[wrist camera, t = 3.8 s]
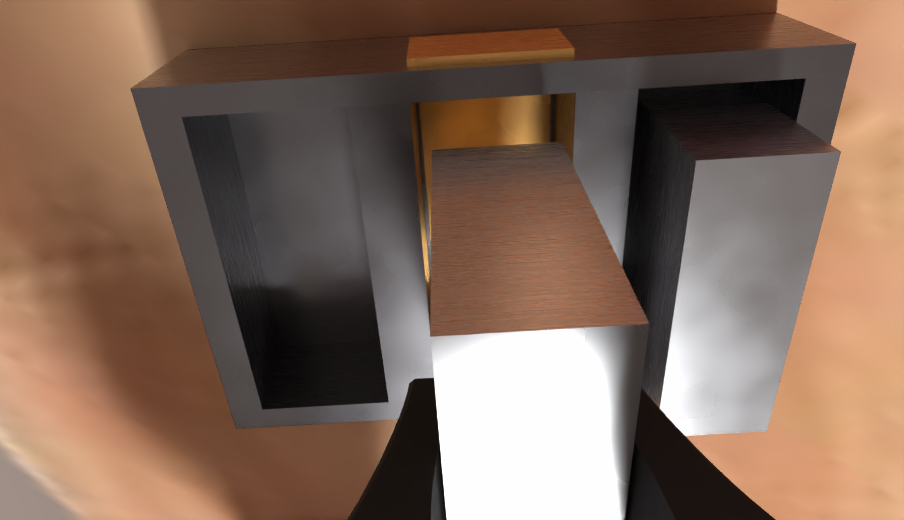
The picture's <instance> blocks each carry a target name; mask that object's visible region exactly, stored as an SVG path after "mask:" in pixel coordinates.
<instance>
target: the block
mask: <svg viewBox="0 0 904 520" xmlns="http://www.w3.org/2000/svg"><path fill="white" fill-rule="evenodd" d="M648 330H649V322H648V320H647V318H646V316H645V314H644V312H643V310H642V308H641V305H640V303H639V301H638V299H637V297H636V295H635V293H634V291H633V289H632V287H631V285H630V283H629V280H628V278H627V276H626V274H625V272H624V270H623V268H622V266H621V264H620V262H619V260H618V258H617V255H616V253H615V251H614V249H613V247H612V245H611V243H610V241H609V239H608V237H607V235H606V233H605V230H604V228H603V226H602V224H601V222H600V220H599V218H598V216H597V214H596V212H595V210H594V208H593V206H592V203H591V201H590V199H589V197H588V195H587V193H586V191H585V189H584V187H583V185H582V183H581V181H580V178H579V176H578V174H577V172H576V170H575V168H574V166H573V164H572V162H571V160H570V158H569V156H568V153H567V151H566V149H565V147H564V145H563V143H562V142H550V143H534V144H518V145H501V146H485V147H469V148H452V149H436V150H432V171H431V308H430V339H431V350H432V361H433V372H434V383H435V394H436V405H437V416H438V427H439V438H440V449H441V460H442V471H443V482H444V493H445V504H446V515H447V520H625V512H626V504H627V496H628V488H629V480H630V472H631V465H632V457H633V449H634V441H635V433H636V425H637V417H638V409H639V401H640V394H641V386H642V378H643V370H644V362H645V354H646V346H647V338H648Z"/></svg>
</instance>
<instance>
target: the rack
mask: <svg viewBox="0 0 904 520" xmlns="http://www.w3.org/2000/svg"><path fill="white" fill-rule="evenodd" d="M855 46H856V43H854V42H851V41H849V40H846V39H844V38H841V37H838V36H836V35H833V34H831V33H828V32H825V31H823V30H820V29H818V28H815V27H812V26H810V25H807V24H805V23H802V22H800V21H797V20H794V19H792V18H789V17H787V16H784V15H781V14H779V13H769V14H753V15H737V16H721V17H705V18H689V19H673V20H657V21H641V22H625V23H609V24H593V25H577V26H561V27H546V28H530V29H514V30H498V31H482V32H466V33H450V34H434V35H418V36H402V37H386V38H370V39H354V40H338V41H322V42H306V43H290V44H274V45H258V46H242V47H226V48H210V49H194V50H186V51H185V52H183V53H182V54H180V55H179V56H177V57H176V58H174V59H173V60H172V61H170V62H169V63H167V64H166V65H164V66H163V67H161V68H160V69H158V70H157V71H155V72H154V73H153V74H151V75H150V76H148V77H147V78H145V79H144V80H142V81H141V82H139V83H138V84H137V85H135V86H134V87H132V88H131V92H132V95H133V98H134V101H135V104H136V108H137V111H138V114H139V117H140V121H141V124H142V127H143V130H144V133H145V137H146V140H147V143H148V146H149V150H150V153H151V156H152V159H153V162H154V166H155V169H156V172H157V175H158V179H159V182H160V185H161V188H162V191H163V195H164V198H165V201H166V204H167V208H168V211H169V214H170V217H171V220H172V224H173V227H174V230H175V233H176V237H177V240H178V243H179V246H180V249H181V253H182V256H183V259H184V262H185V266H186V269H187V272H188V275H189V278H190V282H191V285H192V288H193V291H194V295H195V298H196V301H197V304H198V307H199V311H200V314H201V317H202V320H203V324H204V327H205V330H206V333H207V336H208V340H209V343H210V346H211V349H212V352H213V356H214V359H215V362H216V365H217V369H218V372H219V375H220V378H221V381H222V385H223V388H224V391H225V394H226V398H227V401H228V404H229V407H230V410H231V414H232V417H233V420H234V423H235V427H236V429H241V428H258V427H275V426H292V425H310V424H327V423H344V422H361V421H378V420H395V419H399V416H400V413H401V411H402V408H403V405H404V402H405V398H406V395H407V391H408V387H409V383H410V382H411V381H413V380H414V379H419V378H434V372H433V361H432V350H431V339H430V308H431V171H432V150H436V149H452V148H469V147H485V146H501V145H518V144H534V143H550V142H562V143H563V145H564V147H565V149H566V151H567V153H568V156H569V158H570V160H571V162H572V164H573V166H574V168H575V170H576V172H577V174H578V176H579V178H580V181H581V183H582V185H583V187H584V189H585V191H586V193H587V195H588V197H589V199H590V201H591V203H592V206H593V208H594V210H595V212H596V214H597V216H598V218H599V220H600V222H601V224H602V226H603V228H604V230H605V233H606V235H607V237H608V239H609V241H610V243H611V245H612V247H613V249H614V251H615V253H616V255H617V258H618V260H619V262H620V264H621V266H622V268H623V270H624V272H625V274H626V276H627V278H628V280H629V283H630V285H631V287H632V289H633V291H634V293H635V295H636V297H637V299H638V301H639V303H640V305H641V308H642V310H643V312H644V314H645V316H646V318H647V320H648V322H649V330H648V338H647V346H646V354H645V362H644V370H643V378H642V388H643V389H644V390H645V391H646V393H647V394H648V395H649V396H650V397H651V398H652V400H653V401H654V402H655V403H656V404H657V405H658V407H659V408H660V409H661V410H662V411H663V412H664V413H665V415H666V416H667V417H668V418H669V419H670V420H671V421H672V422H673V424H674V425H675V426H676V427H677V428H678V429H679V430H680V431H681V432H682V433H683V434H684V435H685V436H691V435H709V434H726V433H743V432H761V431H767V428H768V424H769V420H770V417H771V413H772V409H773V405H774V402H775V398H776V394H777V390H778V387H779V383H780V379H781V375H782V371H783V368H784V364H785V360H786V356H787V353H788V349H789V345H790V341H791V338H792V334H793V330H794V326H795V323H796V319H797V315H798V311H799V308H800V304H801V300H802V296H803V292H804V289H805V285H806V281H807V277H808V274H809V270H810V266H811V262H812V259H813V255H814V251H815V247H816V244H817V240H818V236H819V232H820V229H821V225H822V221H823V217H824V213H825V210H826V206H827V202H828V198H829V195H830V191H831V187H832V183H833V180H834V176H835V172H836V168H837V165H838V161H839V157H840V153H841V152H840V151H839V150H837V149H836V148H834V147H833V146H831V145H830V144H831V140H832V136H833V133H834V129H835V125H836V121H837V117H838V113H839V109H840V105H841V101H842V97H843V93H844V89H845V86H846V82H847V78H848V74H849V70H850V66H851V62H852V58H853V54H854V50H855Z"/></svg>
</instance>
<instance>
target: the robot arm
mask: <svg viewBox="0 0 904 520" xmlns="http://www.w3.org/2000/svg"><path fill="white" fill-rule="evenodd" d="M348 520H447V515H446V504H445V493H444V482H443V471H442V460H441V449H440V438H439V427H438V416H437V405H436V394H435V383H434V378H419V379H414V380H413V381H411V382H410V383H409V387H408V391H407V395H406V398H405V402H404V405H403V408H402V411H401V413H400V416H399V419H398V421H397V424H396V426H395V429H394V431H393V433H392V436H391V438H390V440H389V442H388V445H387V447H386V449H385V451H384V453H383V456H382V458H381V460H380V462H379V464H378V466H377V468H376V470H375V472H374V474H373V475H372V477H371V479H370V481H369V483H368V485H367V487H366V489H365V490H364V492H363V494H362V496H361V498H360V500H359V501H358V503H357V505H356V506H355V508H354V510H353V511H352V513H351V515H350V516H349V518H348ZM625 520H775V519H774V518H773V517H772V516H770V515H769V514H768V513H767V512H766V511H764V510H763V509H762V508H761V507H760V506H758V505H757V504H756V503H755V502H754V501H752V500H751V499H750V498H749V497H748V496H747V495H746V494H744V493H743V492H742V491H741V490H740V489H739V488H738V487H737V486H735V485H734V484H733V483H732V482H731V481H730V480H729V479H728V478H727V477H726V476H725V475H724V474H723V473H722V472H720V471H719V470H718V469H717V468H716V467H715V466H714V465H713V464H712V463H711V462H710V461H709V460H708V459H707V458H706V457H705V456H704V455H703V454H702V453H701V452H700V451H699V450H698V449H697V448H696V447H695V446H694V445H693V444H692V443H691V442H690V441H689V440H688V438H687V437H686V436H685V435H684V434H683V433H682V432H681V431H680V430H679V429H678V428H677V427H676V426H675V425H674V424H673V422H672V421H671V420H670V419H669V418H668V417H667V416H666V415H665V413H664V412H663V411H662V410H661V409H660V408H659V407H658V405H657V404H656V403H655V402H654V401H653V400H652V398H651V397H650V396H649V395H648V394H647V393H646V391H645V390H644V389H643V388H642V386H641V394H640V401H639V409H638V417H637V425H636V433H635V441H634V449H633V457H632V465H631V472H630V480H629V488H628V496H627V504H626V512H625Z"/></svg>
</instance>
